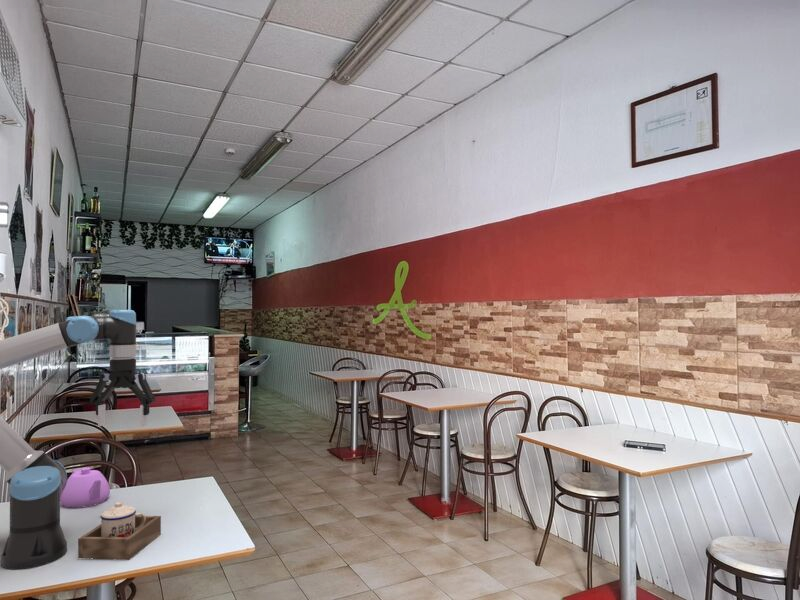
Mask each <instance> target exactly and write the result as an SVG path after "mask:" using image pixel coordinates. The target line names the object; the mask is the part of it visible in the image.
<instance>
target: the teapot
mask: <svg viewBox="0 0 800 600" xmlns="http://www.w3.org/2000/svg"><path fill="white" fill-rule="evenodd" d="M110 493H111V489H110V485H109V482H108V480H107V478H106V476H105V475H104V474H103V473H102V472H101V471H99V470H97V469H96V470H95V469H91V467H89V466H87V467H82V468H76V469H72V471H71V475H70V476H69V477H67V484H66V486H65V489H64V490H63V492H62V494H61V497H60V504H61V505H63V506H64V507H66V506H67V507H66V508H69V507H81V508H84V507H83V506H88V507H91V506H90V505H92V506H95V505H94V504H96V505H99V504H101V503H103V502H104V501H106V499H108V497H109V496H110ZM98 503H99V504H98Z"/></svg>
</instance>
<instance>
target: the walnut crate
mask: <svg viewBox="0 0 800 600" xmlns="http://www.w3.org/2000/svg"><path fill="white" fill-rule="evenodd" d="M145 517H146V521H145V524H144V526H143V527H141V528H140V529H138V530H137V531H135V532H134V533H133V534H132V535H130V536H129V537H101V524H98V526H96V527H94V528H93V529H91V530H89V531H88V532H86V533H85V534H83V535H82V536H80V537H78V538H77V539H78V540H77V547H78V549H77V559H78V558H86V559H85V560H91V559H90V558H93V559H92V560H113V559H116V560H120V561H122V560H123V561H127V560H128V561H129V560H131V559H132V558H134V556H136V555H138V553H139V552H141V551H142V550H143V549H145V548H146V547H147V546H148V545H150V544H151V543H152V542H153V541H154V540H156V539H157V538H158V537H159V536H160V535H161V534H162V521H161V520H162V516H161V515H145ZM141 522H142V516H141V515H140V516H135V528H137V527H138V526H139V525H140V524H141ZM87 558H89V559H87ZM116 560H115V561H116Z"/></svg>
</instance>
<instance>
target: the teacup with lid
mask: <svg viewBox="0 0 800 600" xmlns="http://www.w3.org/2000/svg"><path fill="white" fill-rule="evenodd" d="M135 516H142V522H141V524H140V525H139V526H138V527H137V528H135ZM145 516H146V514H145V513H143V512H137V510H136V508H135V507H133V506H130V505H126V504H123V502H122V501H117V502H114V505H112V506H111V507H110V508H108V509H105V510H104V511H103V512H102V513H101V514H100V519H101V520H100V521H101V522H100V523H101V524H100V525H101V537H129V536H130V535H132V534H133V533H134V532H135V531H137V530H138V529H140V528H141V527H143V526H144V524H145V521H146V517H145Z"/></svg>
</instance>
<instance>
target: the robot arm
mask: <svg viewBox="0 0 800 600" xmlns="http://www.w3.org/2000/svg"><path fill="white" fill-rule="evenodd" d="M91 341H109V358H110V360H109V373H107V372H104V373H101V374H100V375H99V381H98V383H97V384H96V386H95V389H94V391H93V393H92V395H91V397H90V399H89V403H90V404H93V405H95V415H96V416H97V417H98V418H97V426H98V427H103V426H105V425H106V420H107V419H106V410H107V408H106V406H107V405H106V403H105V401H107V399H108V398H109V396H110V395H111V394H112V393H113V392H114V390H115V389H120V388H122V389H127V388H128V389H129V390H130V391H131V392H132V393H133V395H135V397H136V398H137V399H138V400H139V402H140V403H141V405H139V427H145V426H147V425H148V417H147V416H148V415H149V414H150V405H151V404H153V403H155V402H156V397H155V395H154V393H153V391H152V389H151V387H150V385H149V383H148V381H147V374H146V373H145V372H141V373H138V374H137V373H136V369H137V359H136V358H135V357H136V356H137V313H136V312H135V310H132V309H112V310H110V311H109V315H107V316H106V315H104V316H102V315H101V316H99V315H98V316H97V315H95V316H91V315H90V316H89V315H75V316H68V317H66V318H65V320H64V321H61V322H58V323H53V324H51V325H48V326H44V327H40V328H38V329H37V328H36V329H34V330H29V331H28V332H24V333H21V334H17V335H13V336H10V337H7V338H4V339H1V340H0V370H3V369H5V368H9V367H12V366H15V365H18V364H22V363H24V362H27V361H30V360H33V359H37V358H40V357H43V356H46V355H49V354H52V353H55V352H59V351H61V350H65V349H67V348H71V347H75V346H78V345H80V344H86V343H89V342H91ZM108 380H109V381H110V383H109V384H108V385H107V382H108ZM136 380H137V381H138V383H139V385H140V387H139V385H138V383H137V382H136ZM106 385H107V387H106ZM105 387H106V389H105ZM104 389H105V390H104ZM141 389H142V390H141ZM0 467H1V469H2V470H4V472H5V482H6V483H7V484H9V486H8V487H9V488H8V491H9V532H8V533H9V534H8V536H7V538H6V539H7V540H6V542H5V545H4V547H3V551H2V554H1V557H0V561H1V566H2V567H3V568H5V569H9V570H20V569H21V570H22V569H30V568H34V567H39V566H43V565H47V564H49V563H52V562H54V561H56V560H58V559H60V558H62V557H63V556H65V554H66V553H67V552H68V542H67V540H66V538H65V534H64V531H63V528H62V526H61V502H60V497H61V494H62V492H63V490H64V489H65V486H66V484H67V480H68V474H67V473H68V472H67V470H66V468H65V467H64V465H63V464H62V463H61V462H59V461H57V460H56V459H52V458H51V457H50V456H49V455H48V454H47V453H46V451H44V450H35V449H34V448H32V446H31V445H30V444H29V443H28V442H27V441H26V440H25V439H23V437H21V435H20V434H19V433H18V432H17V431H16V430H15V429H14V428H13V427H12V426H11V425H10V424H9V423H8V422H7V421H6V420H5V419H4V417H2V416H1V415H0Z"/></svg>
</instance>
